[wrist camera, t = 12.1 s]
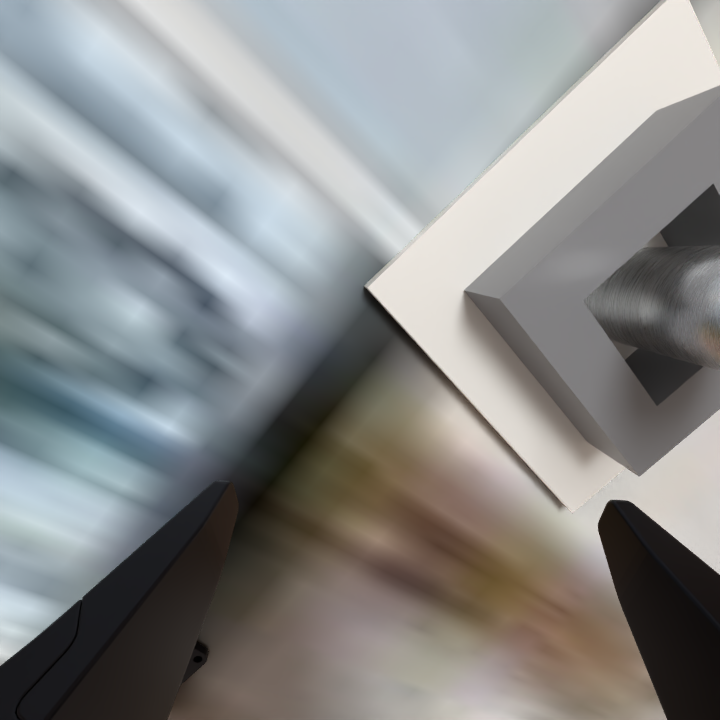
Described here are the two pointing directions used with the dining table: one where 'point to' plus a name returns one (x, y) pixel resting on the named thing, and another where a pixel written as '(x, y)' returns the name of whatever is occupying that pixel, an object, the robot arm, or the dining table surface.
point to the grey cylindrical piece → (664, 303)
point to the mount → (576, 262)
